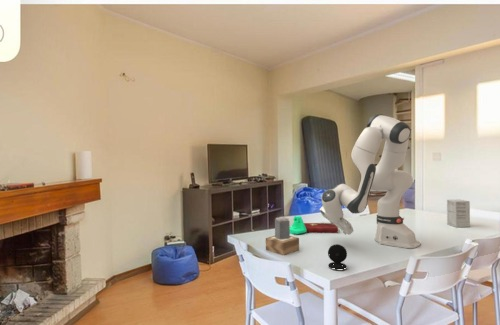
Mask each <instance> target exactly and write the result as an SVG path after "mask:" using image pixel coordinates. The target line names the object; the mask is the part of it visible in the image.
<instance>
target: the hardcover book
mask: <svg viewBox="0 0 500 325" xmlns="http://www.w3.org/2000/svg"><path fill="white" fill-rule="evenodd" d="M304 225H305V227H306V229H307V232H306V234H312V233H313V234H314V233H315V234H339V228H338V227H337V226H336V225H332V224H331V222H304Z"/></svg>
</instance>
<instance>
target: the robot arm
mask: <svg viewBox="0 0 500 325" xmlns="http://www.w3.org/2000/svg"><path fill="white" fill-rule="evenodd" d="M410 137H411V127H410V125H409V124H408V123H406V122H405V121H401V120H398V119H397V118H394V117H392V116H388V115H384V114H381V113H375V114H373V115H371V116H370V118H369V119H368V121H367V124H366V127H365V128H364V129H363V130H362V132H360V135H359V136H358V138H357V140H356V141H355V143H354V146H353V147H352V150H351V155H350V156H351V160H352V162H353V164H354V165H355V167H357V169H358V170H359V172H360V176H361V179H360V182H359V186H358V189H357V190H355V189H353V188H352V187H351V186H350V185H347V184H346V183H339V184H337V185H335V186H334V187H332V188H331V189H326V190H325V191H323V193H322V195H321V204H322V205H321V207H320V208H319V212H320V213H321V214H320V215H322V217H323V218H325V219H327V220H328V221H329V223H331V224H332V225H336V226H337V227H338V229H339V230H341V231H343V232H342V233H343V234H344V235H348V236H349V235H351V234H353V232H354V227H353V226H352V223H351V222H350V221H349V220H347V219H346V218H344V211H343V207H345V208H346V209H347V210H348V211H350V213H351V214H355V215H357V214H360V213H363V212H364V211H365V210H366V209H367V206H368V200H369V195H370V192H371V191H376V192H377V191H386V192H385V193H386V194H385V195H384V196H382V197H380V198H379V199H378V200H377V205H376V206H377V212H376V213H377V214H376V233H375V237H374V241H375V242H377V243H378V244H380V245H385V246H391V247H398V248H405V249H415V248H418V247H420V246H421V241H419V240H416V239H417V238H416V233H415V232H414V231H413V230H412V229H410V228H409V227H408V226H407V225H406V224H404V220H405V217H402V216H400V206H401V200H402V197H403V196H404V194H405V193H406V191H407V190H409V189H410V188H411V187H412V185H413V182H414V180H413V179H414V177H413V176H412V174H411V173H410V172H409V171H406V170H398V169H399V168H401V167H402V166H403V165H404V163H405V160H406V157H407V151H408V148H409V140H410ZM384 140H385V143H384V144H383V145H384V146H383V149H382V154H381V157H380V160H379V162H378V163H377V165H375V160H376V156H377V153H378V151H379V149H380V146H381V143H382V142H383V141H384ZM342 206H343V207H342Z"/></svg>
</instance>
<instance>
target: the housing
mask: <svg viewBox="0 0 500 325" xmlns="http://www.w3.org/2000/svg"><path fill="white" fill-rule="evenodd" d="M290 227H291V225H290V220H289V218H287V217H285V216H281V217H280V216H279V217H275V219H274V236H275V237H276V238H278V239H280V240H281V239H289V238H290V236H291V233H290Z"/></svg>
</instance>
